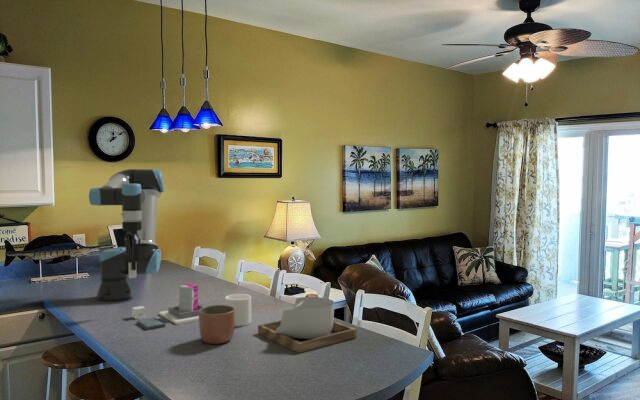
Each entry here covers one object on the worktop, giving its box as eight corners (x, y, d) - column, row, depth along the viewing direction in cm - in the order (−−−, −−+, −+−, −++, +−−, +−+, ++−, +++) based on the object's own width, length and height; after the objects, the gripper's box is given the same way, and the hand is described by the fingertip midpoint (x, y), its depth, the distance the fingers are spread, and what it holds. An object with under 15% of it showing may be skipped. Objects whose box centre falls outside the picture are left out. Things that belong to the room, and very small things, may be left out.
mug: (256, 323, 194) (256, 297, 194) (234, 328, 187) (234, 301, 187) (238, 316, 203) (238, 291, 203) (217, 321, 197) (216, 295, 196)
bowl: (328, 345, 168) (329, 310, 168) (273, 340, 171) (274, 306, 171) (336, 329, 187) (337, 297, 187) (287, 325, 191) (288, 294, 191)
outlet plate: (159, 314, 206) (159, 307, 205) (199, 307, 217) (199, 300, 217) (176, 324, 191) (176, 317, 191) (218, 316, 203) (218, 309, 203)
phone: (136, 323, 193) (136, 320, 193) (154, 320, 197) (154, 317, 197) (146, 330, 184) (146, 327, 184) (165, 326, 189) (165, 324, 189)
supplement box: (192, 315, 201) (191, 287, 200) (178, 314, 202) (178, 286, 201) (198, 311, 206) (198, 284, 206) (185, 310, 208) (185, 283, 207)
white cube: (132, 317, 202) (132, 307, 201) (142, 315, 204) (141, 305, 204) (136, 319, 198) (136, 309, 198) (146, 318, 201) (146, 308, 200)
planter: (217, 348, 165) (217, 316, 165) (191, 342, 172) (190, 310, 171) (242, 338, 176) (242, 308, 175) (216, 332, 182) (216, 303, 182)
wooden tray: (258, 333, 181) (258, 325, 181) (313, 321, 197) (313, 313, 197) (299, 352, 162) (299, 343, 161) (356, 337, 177) (356, 329, 177)
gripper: (117, 220, 208) (118, 276, 209) (127, 222, 197) (128, 281, 198) (135, 219, 212) (136, 274, 213) (146, 221, 202) (147, 278, 203)
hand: (132, 277), depth 206 cm, fingers closed
